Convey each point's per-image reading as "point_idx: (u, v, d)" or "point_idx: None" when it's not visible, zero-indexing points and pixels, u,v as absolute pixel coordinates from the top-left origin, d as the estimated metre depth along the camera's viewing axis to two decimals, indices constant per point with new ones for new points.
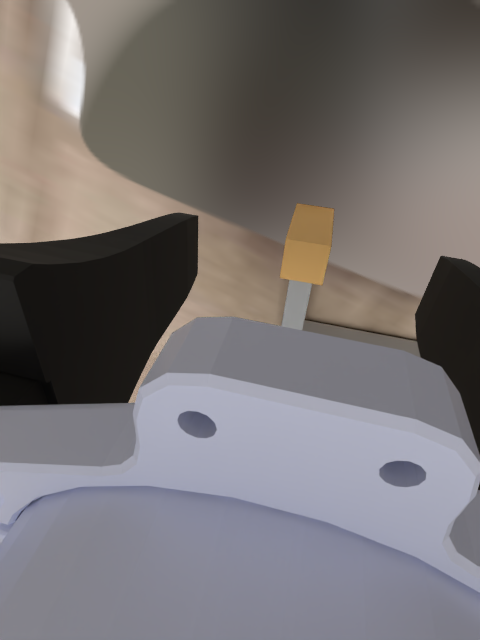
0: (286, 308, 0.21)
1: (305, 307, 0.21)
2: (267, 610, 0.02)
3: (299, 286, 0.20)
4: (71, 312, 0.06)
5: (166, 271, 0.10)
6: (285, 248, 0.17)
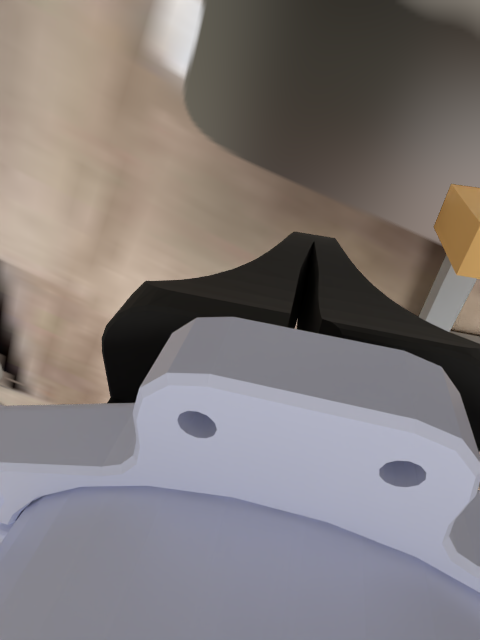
0: (431, 313, 0.17)
1: (457, 312, 0.17)
2: (267, 610, 0.02)
3: (456, 286, 0.16)
4: None
5: (298, 296, 0.10)
6: (476, 236, 0.13)
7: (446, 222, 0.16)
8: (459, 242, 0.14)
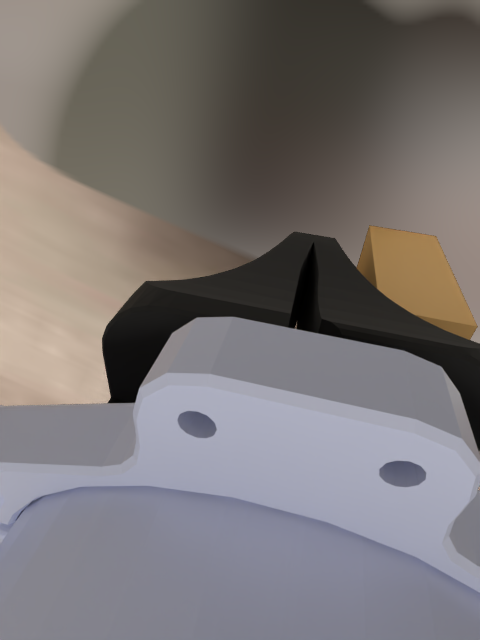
0: None
1: None
2: (267, 610, 0.02)
3: None
4: None
5: (298, 296, 0.10)
6: None
7: None
8: None
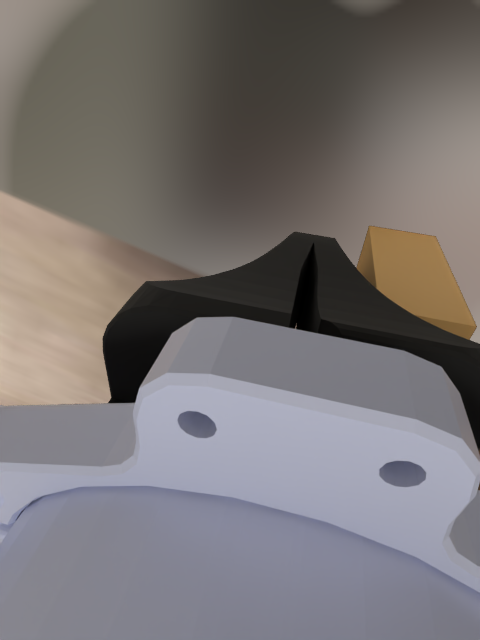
0: None
1: None
2: (267, 610, 0.02)
3: None
4: None
5: (298, 296, 0.10)
6: None
7: None
8: None
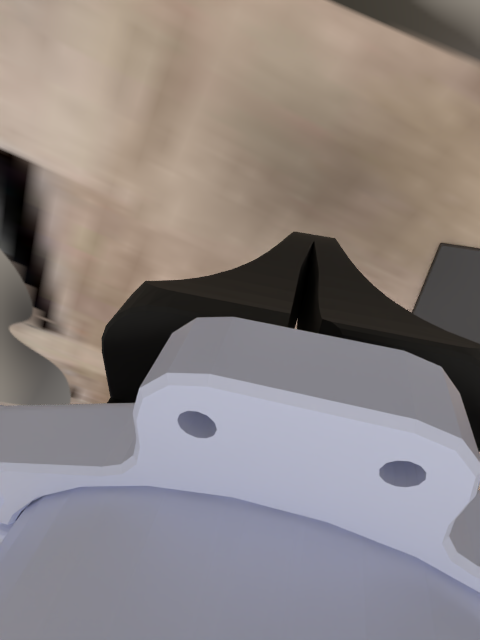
0: None
1: None
2: (267, 610, 0.02)
3: None
4: None
5: (298, 296, 0.10)
6: None
7: None
8: None
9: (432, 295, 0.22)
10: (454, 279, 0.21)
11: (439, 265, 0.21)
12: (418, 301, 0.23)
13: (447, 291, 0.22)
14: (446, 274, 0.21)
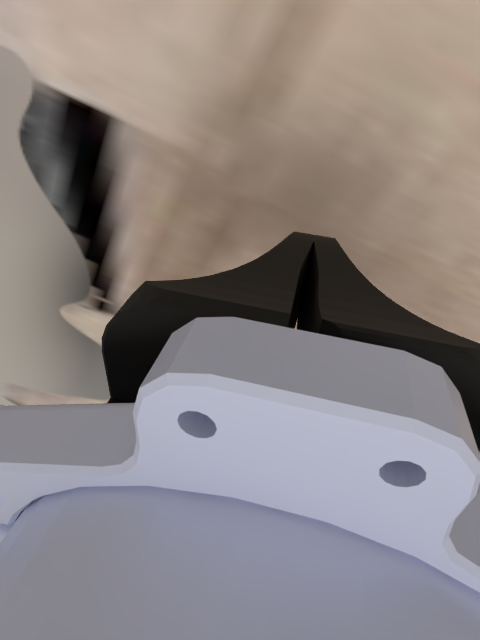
0: None
1: None
2: (267, 610, 0.02)
3: None
4: None
5: (298, 296, 0.10)
6: None
7: None
8: None
9: None
10: None
11: None
12: None
13: None
14: None
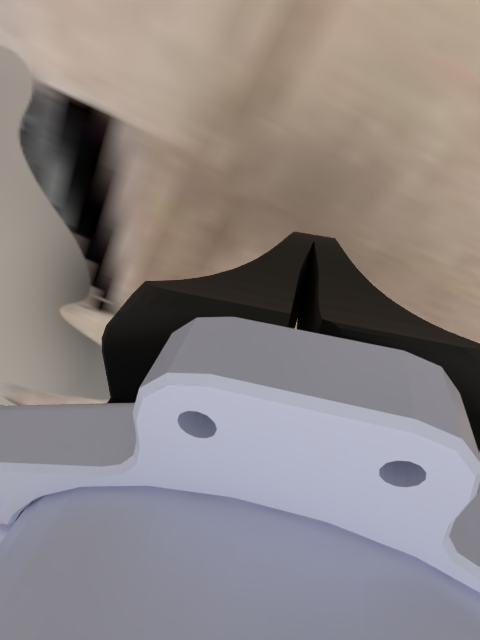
0: None
1: None
2: (267, 610, 0.02)
3: None
4: None
5: (298, 296, 0.10)
6: None
7: None
8: None
9: None
10: None
11: None
12: None
13: None
14: None
